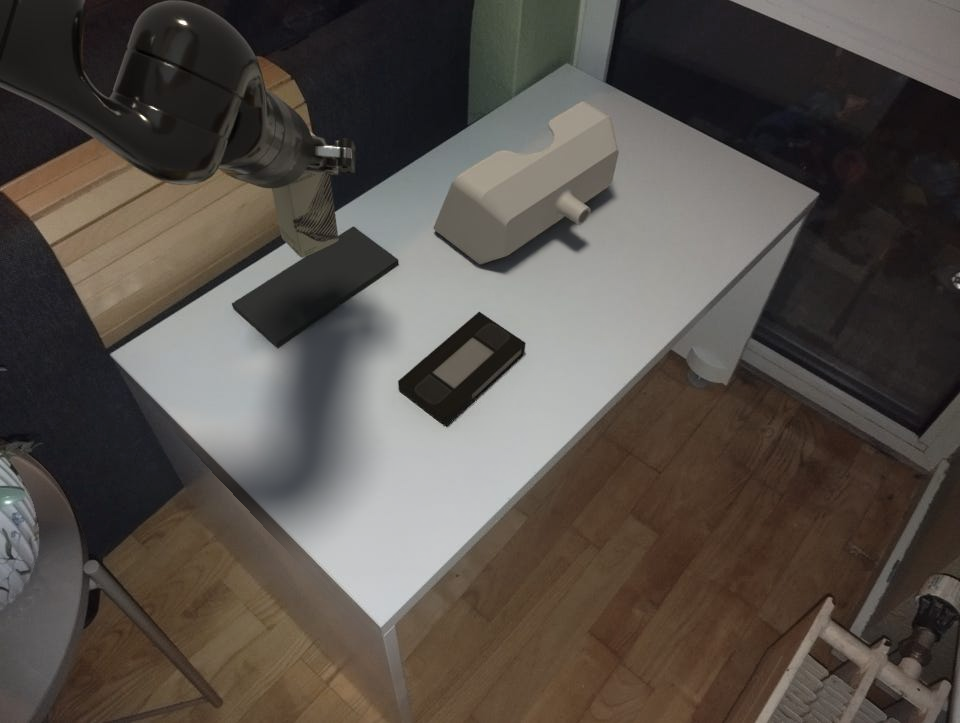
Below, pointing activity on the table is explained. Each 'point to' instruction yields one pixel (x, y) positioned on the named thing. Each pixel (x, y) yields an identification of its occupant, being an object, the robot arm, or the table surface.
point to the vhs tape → (461, 368)
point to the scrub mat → (314, 286)
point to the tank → (530, 187)
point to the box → (307, 213)
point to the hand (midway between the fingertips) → (301, 163)
